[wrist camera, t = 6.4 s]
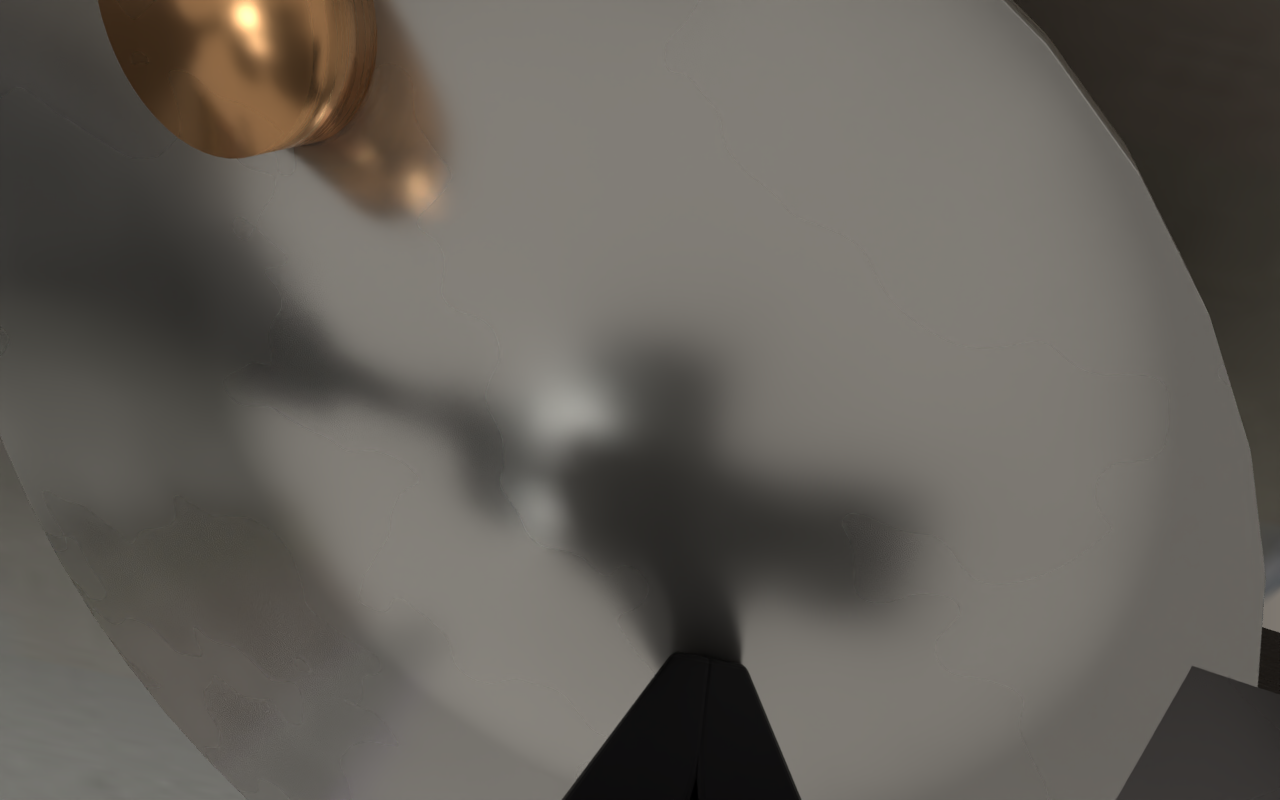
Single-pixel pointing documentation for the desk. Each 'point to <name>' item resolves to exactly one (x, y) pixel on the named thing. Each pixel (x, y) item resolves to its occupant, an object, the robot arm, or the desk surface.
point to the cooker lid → (625, 393)
